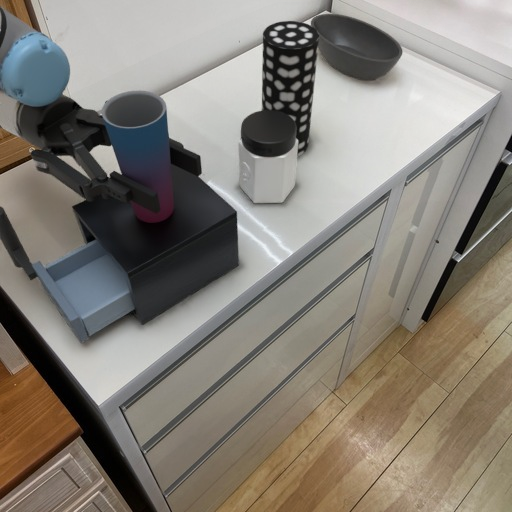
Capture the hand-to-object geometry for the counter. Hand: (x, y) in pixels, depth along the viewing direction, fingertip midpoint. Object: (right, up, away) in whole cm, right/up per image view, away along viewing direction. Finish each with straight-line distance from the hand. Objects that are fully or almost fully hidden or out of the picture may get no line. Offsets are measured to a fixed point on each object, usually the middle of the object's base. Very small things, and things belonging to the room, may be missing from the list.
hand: (178, 184), depth 61 cm
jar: (+11, +3, +26) cm, 28 cm away
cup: (-4, -2, +7) cm, 9 cm away
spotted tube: (+14, +12, +33) cm, 38 cm away
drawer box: (-4, -9, +15) cm, 18 cm away
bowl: (+29, +31, +50) cm, 65 cm away
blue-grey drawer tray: (-13, -11, +12) cm, 21 cm away
